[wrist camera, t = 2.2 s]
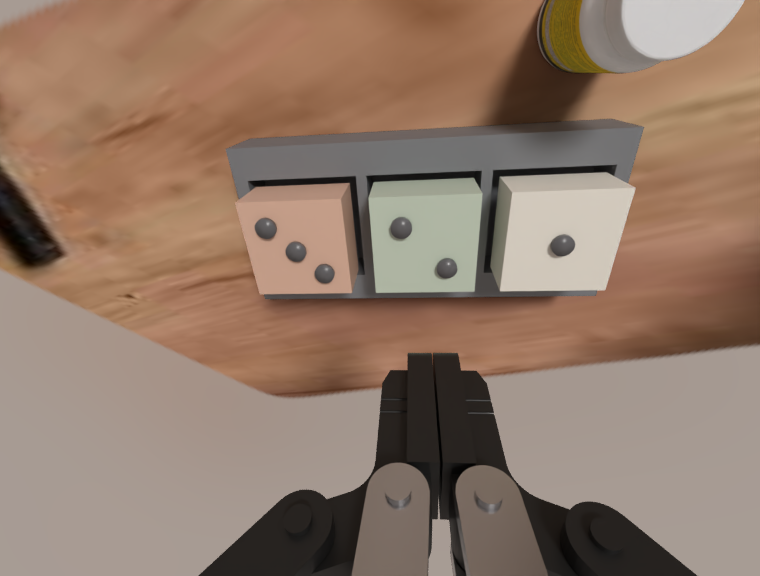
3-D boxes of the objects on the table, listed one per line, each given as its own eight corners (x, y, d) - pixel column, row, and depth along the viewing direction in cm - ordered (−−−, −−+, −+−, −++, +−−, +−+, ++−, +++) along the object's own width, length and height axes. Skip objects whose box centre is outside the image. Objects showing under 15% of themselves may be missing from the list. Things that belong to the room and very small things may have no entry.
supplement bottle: (564, 92, 21) (644, 105, 14) (517, 19, 19) (579, -10, 12) (650, 20, 19) (796, -10, 12) (605, -68, 17) (741, -165, 10)
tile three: (349, 182, 21) (339, 200, 18) (358, 269, 24) (351, 295, 21) (256, 186, 22) (232, 204, 19) (275, 270, 24) (257, 296, 22)
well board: (611, 118, 21) (643, 126, 18) (575, 270, 26) (595, 295, 23) (249, 138, 23) (225, 149, 20) (280, 274, 28) (265, 299, 26)
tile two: (473, 177, 20) (483, 195, 17) (467, 267, 23) (475, 294, 20) (373, 182, 21) (367, 199, 18) (379, 268, 24) (375, 295, 21)
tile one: (606, 172, 20) (639, 189, 17) (583, 264, 22) (607, 293, 20) (499, 176, 20) (513, 194, 17) (490, 266, 23) (500, 294, 20)
